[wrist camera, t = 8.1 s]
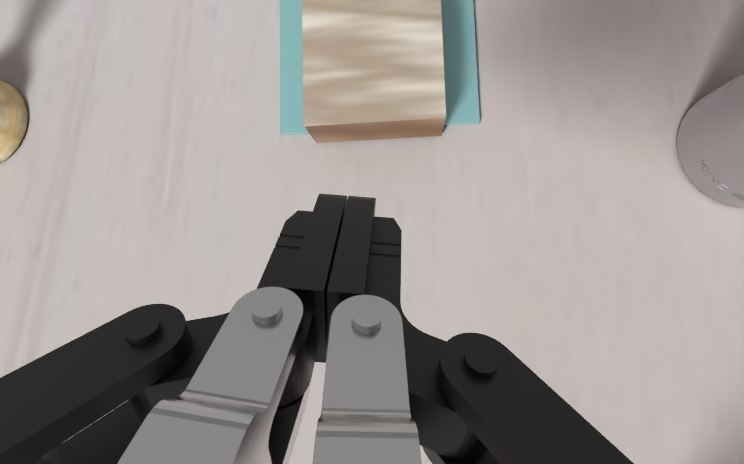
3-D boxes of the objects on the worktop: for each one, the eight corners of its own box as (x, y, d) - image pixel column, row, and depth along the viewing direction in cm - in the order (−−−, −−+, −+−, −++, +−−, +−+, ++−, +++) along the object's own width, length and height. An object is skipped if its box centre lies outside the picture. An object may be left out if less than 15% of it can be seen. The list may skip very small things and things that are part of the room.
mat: (281, -107, 35) (279, -112, 34) (465, -129, 33) (465, -134, 33) (282, 134, 33) (280, 133, 32) (478, 123, 31) (479, 121, 31)
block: (316, 142, 32) (314, -41, 33) (441, 135, 31) (433, -53, 32) (303, 124, 28) (301, -83, 29) (446, 115, 27) (436, -98, 28)
